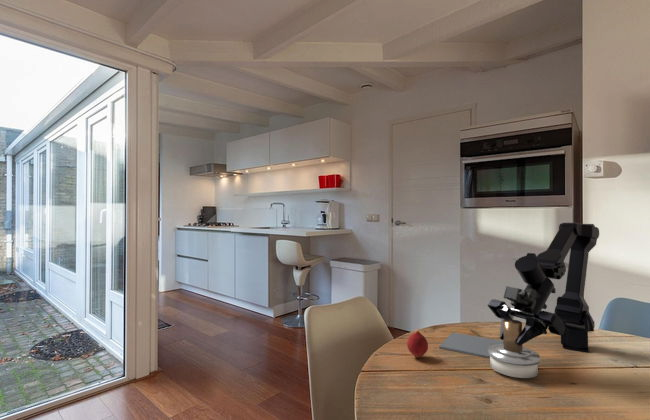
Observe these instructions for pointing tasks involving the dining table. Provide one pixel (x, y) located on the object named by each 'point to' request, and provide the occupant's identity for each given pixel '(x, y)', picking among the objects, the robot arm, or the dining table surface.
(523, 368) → the white rounded piece
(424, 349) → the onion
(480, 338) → the mat
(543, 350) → the dining table surface
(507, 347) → the cylinder on round base
